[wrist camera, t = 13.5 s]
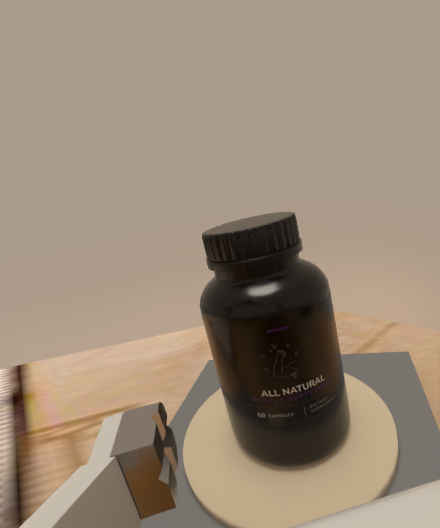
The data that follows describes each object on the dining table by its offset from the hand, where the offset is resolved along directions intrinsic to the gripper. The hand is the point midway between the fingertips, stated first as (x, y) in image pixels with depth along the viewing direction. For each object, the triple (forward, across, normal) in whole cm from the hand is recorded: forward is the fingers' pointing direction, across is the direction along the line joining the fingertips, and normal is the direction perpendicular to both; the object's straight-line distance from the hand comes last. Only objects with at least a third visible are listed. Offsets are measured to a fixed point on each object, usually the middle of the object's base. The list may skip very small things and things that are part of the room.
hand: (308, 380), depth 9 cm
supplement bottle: (+8, 0, +8) cm, 12 cm away
